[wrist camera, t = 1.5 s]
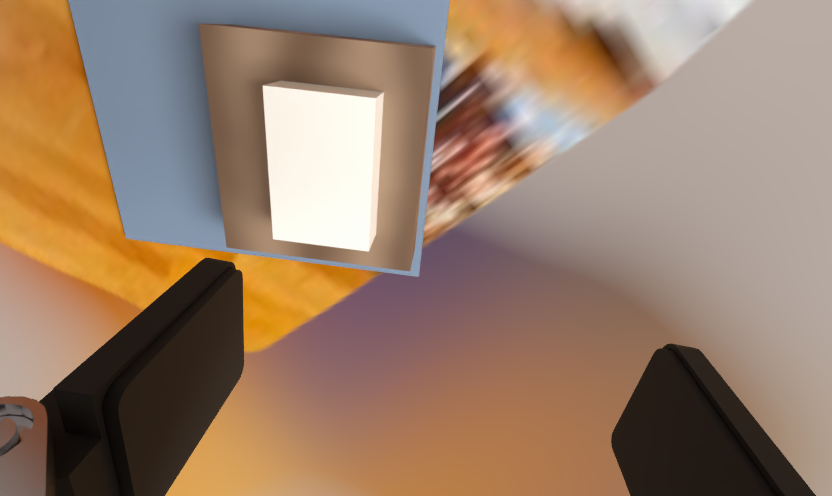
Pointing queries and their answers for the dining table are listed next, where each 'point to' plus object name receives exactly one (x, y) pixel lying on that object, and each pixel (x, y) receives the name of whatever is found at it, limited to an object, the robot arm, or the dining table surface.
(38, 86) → the dining table surface
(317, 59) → the block
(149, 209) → the placemat
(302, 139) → the tile
